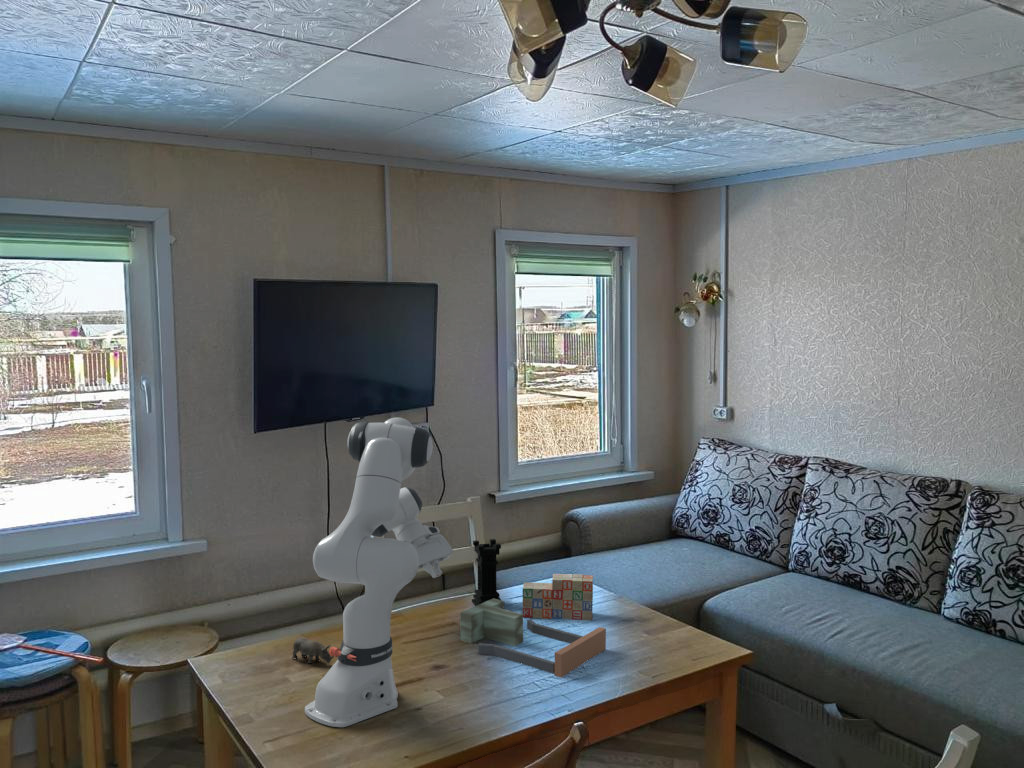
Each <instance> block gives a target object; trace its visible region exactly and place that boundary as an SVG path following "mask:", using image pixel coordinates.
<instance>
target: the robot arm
mask: <svg viewBox="0 0 1024 768" xmlns="http://www.w3.org/2000/svg"><path fill="white" fill-rule="evenodd" d="M346 443H347V449H348V454H349V455H350V457H351V458H352V459H353V460H355V461H357V462H359V464H358V469H357V473H356V478H355V484H354V489H353V494H352V497H351V502H350V505H349V508H348V511H347V513H346V515H345V517H344V519H343V520H342V522H341V523H340V524H339V525H338V526H337V528H335V529H334V531H332V532H331V533H330V534H329V535H326V536H325V537H324V538H322V539H320V541H319V542H318V543H317V545H316V546H315V548H314V551H313V554H312V565H313V569H314V571H315V573H316V575H317V576H318V577H319V578H321V579H325V580H328V581H332V582H335V583H339V584H340V583H343V584H345V583H346V584H353V585H355V584H357V585H358V584H359V585H363V586H364V589H365V590H364V594H363V595H360V596H358V597H356V598H354V599H353V600H351V601H349V602H348V603H347V605H345V607H344V609H343V612H342V624H343V625H342V626H343V627H342V629H343V631H342V633H343V634H342V636H343V640H342V641H341V644H340V647H339V648H338V647H335V646H331V647H329V649H328V653H329V654H330V656H331V657H332V656H334V658H337V660H336V661H335V662H334V664H333V665H332V666H331V667H330V668H329V670H328V671H327V672H325V675H323V677H322V678H321V679H320V681H319V682H318V683H317V685H316V689H315V693H314V695H315V696H314V700H313V701H311V702H310V703H307V705H305V707H304V714H305V715H306V716H307V717H308V718H310V719H311V720H313V721H314V722H317V723H320V724H322V725H325V726H329V727H334V728H345V727H349V726H351V725H354V724H357V723H359V722H361V721H362V722H363V721H364V720H367V719H370V718H372V717H376V716H377V715H381V714H384V713H385V712H389V711H391V710H394V709H397V708H398V706H399V704H398V697H399V693H398V689H397V686H396V682H395V678H394V671H393V663H392V655H393V638H392V636H391V615H392V607H393V604H394V601H395V599H396V597H397V595H398V594H399V592H400V591H401V590H402V589H403V588H404V587H406V586H407V585H408V584H409V583H411V581H413V580H414V578H415V577H416V575H417V573H418V570H420V569H423V571H424V572H426V573H428V574H429V575H430V576H431V577H432V578H433V579H436V578H438V577H440V576H441V575H443V571H442V570H441V565H440V564H441V563H440V562H443V561H446V560H448V559H449V558H450V557H451V556H452V555H453V551H454V550H453V548H452V547H451V545H450V544H449V541H447V539H446V538H445V537H444V536H443V534H441V533H440V532H441V531H440V528H439V527H437V526H429V525H425V524H424V525H423V523H422V522H421V521H420V520H419V519H418V516H419V515H420V513H421V511H422V508H423V500H422V499H421V498H420V496H419V495H418V493H417V491H416V490H415V489H413V488H411V487H407V486H405V487H402V488H401V486H402V482H403V481H405V480H407V478H410V476H411V475H412V474H413V473H414V471H415V470H416V468H422V467H424V466H426V465H427V464H428V463H429V460H430V458H431V457H432V454H433V450H434V445H433V439H432V436H431V433H430V432H429V431H427V429H424V428H422V427H418V426H416V427H414V426H413V424H412V423H411V422H410V421H409V420H408V419H405V418H403V417H390V418H388V419H387V420H385V421H384V422H369V421H361V422H356V423H355V424H354V425H353V426H352V427H351V430H350V432H349V434H348V436H347V442H346ZM390 531H392V532H393V534H394V535H395V538H391V537H390V538H387V537H386V538H385V537H383V536H385V535H387V534H388V533H389V532H390Z"/></svg>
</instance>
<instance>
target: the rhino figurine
mask: <svg viewBox="0 0 1024 768" xmlns="http://www.w3.org/2000/svg"><path fill="white" fill-rule="evenodd" d="M330 646H331V644H329V645H327V646H325V645H324V644H323V643H321V642H320V641H318V640H310V639H308V638H306V637H303V636H302V637H301V636H298V637H297V638H296V639H295V641H294V643H293V648H292V649H293V650H292V657H291V658H292V660H294V659H293V658H297V657H298V655H297V653H299V652H300V657H301V656H302V657H301V658H303V657H305V656H307V657H308V660H307V664H308V663H312V662H313V663H314V661H313V659H314V657H315V659H314V660H316V661H319V660H323V661H325V662H326V663H328V664H330V663H331V662H332V660H333V659H334V658H335V656H331V655H330V654H329V649H330V648H331V647H330ZM297 659H298V658H297ZM316 661H315V662H316ZM319 662H320V661H319ZM313 663H312V664H313Z"/></svg>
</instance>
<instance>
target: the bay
mask: <svg viewBox="0 0 1024 768" xmlns="http://www.w3.org/2000/svg"><path fill="white" fill-rule="evenodd" d="M526 629H527V630H529V631H530V632H531V633H533V634H535V635H538V636H542V637H546V638H549V639H552V640H553V639H554V640H557V641H560V642H564V643H567V645H566V646H563V647H562V648H560V649H558V650H557V651H555V652H554V661H552V660H549V659H546V658H542V657H540V656H539V657H538V656H536V655H532V654H529V653H525V652H522V651H518V650H515V649H512V648H508V647H505V646H501V645H498V644H494V643H481V642H480V643H478V646H477V647H478V653H477V654H478V655H486V654H487V655H488V656H496V657H498V658H501V659H505V660H509V661H511V662H514V663H518V664H521V663H522V665H525V666H528V667H530V666H531V668H534V667H535V668H534V669H537V668H538V669H537V670H540V669H541V670H540V671H543V670H544V672H548V673H551V674H554V676H555V677H558V678H563V677H565V676H566V675H567V674H570V671H571V672H572V670H573V671H574V670H576V669H577V668H579V667H581V666H582V665H584V664H585V663H584V662H586V661H587V660H589V659H590V660H592V659H593V657H594V656H595V657H597V656H598V655H599V653H600V654H601V652H602V651H603V652H604V650H605V651H606V650H607V646H606V645H607V629H606V628H605V627H601V626H600V627H599V626H598V627H597V628H596V629H594V630H592V631H590V632H589V633H586V634H585V635H580V634H576V633H571V632H569V631H565V630H562V629H557V628H554V627H549V626H546V625H542V624H539V623H536V622H535V621H533V620H532V619H531V618H529V619H526ZM603 652H602V653H603ZM596 655H597V656H596ZM595 657H594V658H595ZM591 658H592V659H591ZM590 660H589V661H590ZM587 662H588V661H587ZM587 662H586V663H587ZM583 663H584V664H583ZM581 664H582V665H581ZM580 665H581V666H580ZM578 666H579V667H578ZM575 668H576V669H575Z"/></svg>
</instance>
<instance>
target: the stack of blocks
mask: <svg viewBox="0 0 1024 768" xmlns="http://www.w3.org/2000/svg"><path fill="white" fill-rule="evenodd" d="M593 584H594V576H593V575H589V574H588V575H587V574H582V573H573V574H572V573H553V574H552V579H551V582H529V581H524V582H523V586H522V614H523V618H529V619H531V618H533V619H548V620H550V619H555V620H576V621H577V620H578V621H593V602H594V600H593V597H594V585H593Z"/></svg>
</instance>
